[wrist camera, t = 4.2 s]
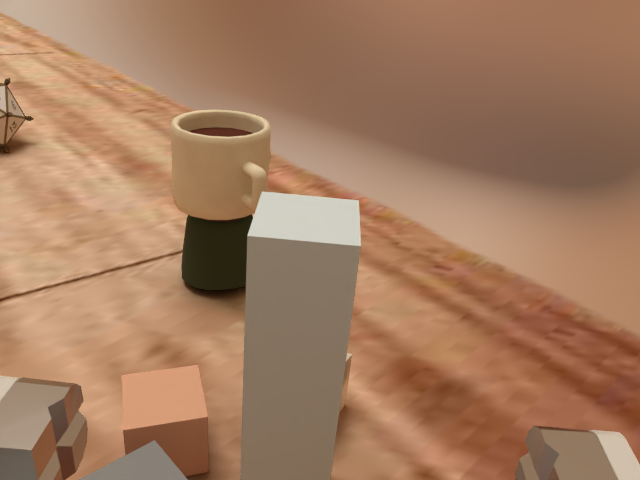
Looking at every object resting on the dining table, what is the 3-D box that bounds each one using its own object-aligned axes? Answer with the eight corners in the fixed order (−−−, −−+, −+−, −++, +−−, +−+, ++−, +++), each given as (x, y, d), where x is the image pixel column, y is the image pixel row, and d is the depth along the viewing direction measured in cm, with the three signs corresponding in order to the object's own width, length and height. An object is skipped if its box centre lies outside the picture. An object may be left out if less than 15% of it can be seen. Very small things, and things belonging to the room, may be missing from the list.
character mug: (296, 296, 47) (308, 138, 41) (217, 325, 43) (217, 153, 36) (223, 240, 54) (224, 98, 48) (150, 260, 50) (141, 108, 44)
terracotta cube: (128, 487, 30) (123, 430, 28) (127, 430, 33) (121, 375, 32) (208, 472, 31) (208, 416, 29) (198, 418, 35) (197, 365, 33)
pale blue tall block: (322, 541, 28) (360, 246, 21) (238, 533, 28) (247, 235, 21) (325, 473, 32) (358, 200, 24) (250, 466, 32) (261, 191, 24)
